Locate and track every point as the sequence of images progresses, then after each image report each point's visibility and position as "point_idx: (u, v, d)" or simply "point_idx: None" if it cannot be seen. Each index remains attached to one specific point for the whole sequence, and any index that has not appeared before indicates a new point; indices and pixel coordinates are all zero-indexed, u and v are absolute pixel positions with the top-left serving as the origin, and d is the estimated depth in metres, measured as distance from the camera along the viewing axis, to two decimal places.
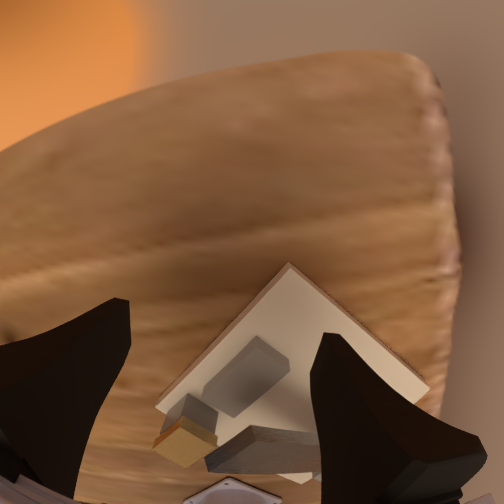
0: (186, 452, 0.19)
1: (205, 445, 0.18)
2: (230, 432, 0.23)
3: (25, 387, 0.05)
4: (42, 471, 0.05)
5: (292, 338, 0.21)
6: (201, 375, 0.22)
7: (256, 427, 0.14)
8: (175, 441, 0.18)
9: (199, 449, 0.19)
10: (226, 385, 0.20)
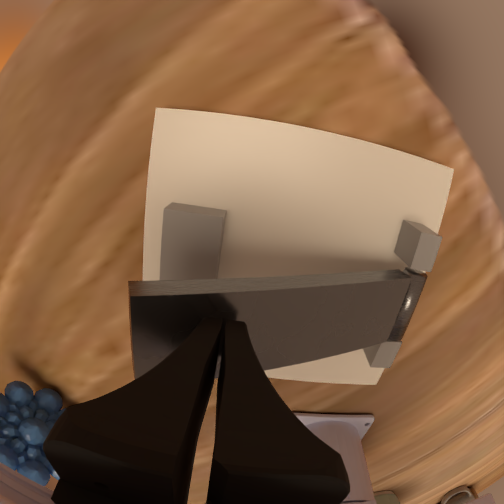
0: None
1: None
2: None
3: (184, 438, 0.05)
4: None
5: (212, 181, 0.16)
6: None
7: (139, 282, 0.10)
8: None
9: None
10: (169, 279, 0.16)
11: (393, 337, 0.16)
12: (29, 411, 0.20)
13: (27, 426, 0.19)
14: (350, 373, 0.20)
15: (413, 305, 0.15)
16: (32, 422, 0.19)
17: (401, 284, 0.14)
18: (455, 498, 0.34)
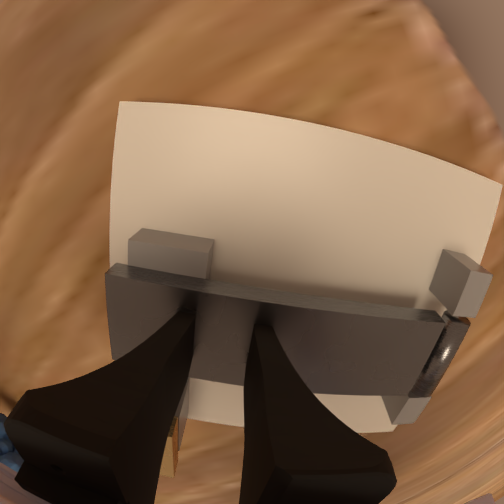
0: None
1: None
2: (230, 400, 0.15)
3: (133, 426, 0.05)
4: None
5: (193, 200, 0.12)
6: None
7: (123, 265, 0.11)
8: None
9: None
10: None
11: (417, 392, 0.12)
12: (7, 446, 0.16)
13: (5, 463, 0.14)
14: (365, 422, 0.16)
15: (446, 359, 0.11)
16: (11, 459, 0.15)
17: (428, 329, 0.11)
18: None
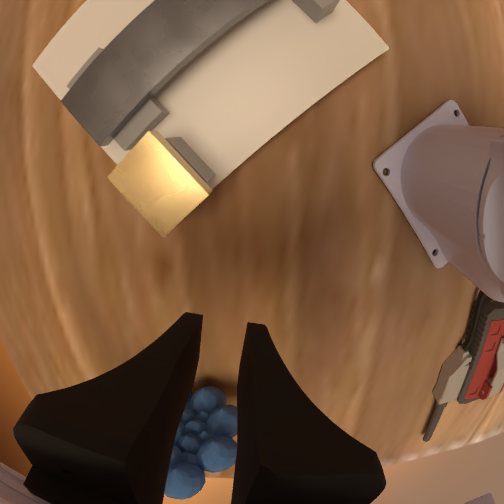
0: (160, 179, 0.13)
1: (142, 146, 0.13)
2: (224, 126, 0.17)
3: (146, 430, 0.05)
4: None
5: (88, 51, 0.15)
6: (119, 150, 0.17)
7: None
8: (137, 191, 0.14)
9: (152, 157, 0.13)
10: None
11: None
12: None
13: None
14: (348, 55, 0.15)
15: None
16: None
17: None
18: None
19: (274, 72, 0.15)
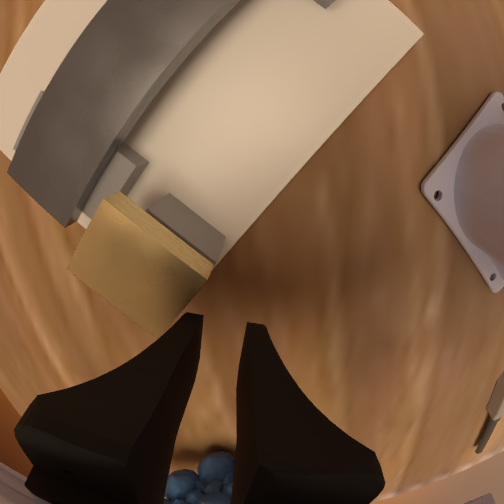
0: (135, 266, 0.09)
1: (101, 221, 0.09)
2: (227, 170, 0.12)
3: (147, 430, 0.05)
4: None
5: (34, 97, 0.11)
6: None
7: None
8: (108, 284, 0.10)
9: (116, 236, 0.09)
10: None
11: None
12: (194, 493, 0.17)
13: None
14: (376, 47, 0.10)
15: None
16: (198, 502, 0.15)
17: None
18: None
19: (282, 84, 0.11)
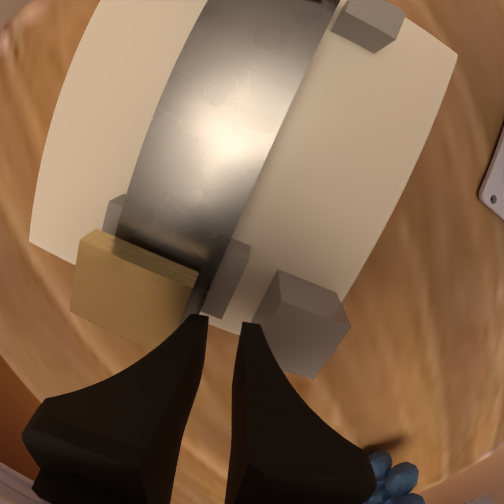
0: (125, 293, 0.10)
1: (84, 261, 0.09)
2: (327, 235, 0.13)
3: (158, 432, 0.05)
4: None
5: (93, 202, 0.13)
6: None
7: None
8: (108, 316, 0.10)
9: (101, 270, 0.09)
10: None
11: (334, 0, 0.08)
12: None
13: None
14: (426, 83, 0.11)
15: None
16: None
17: None
18: None
19: (358, 142, 0.12)
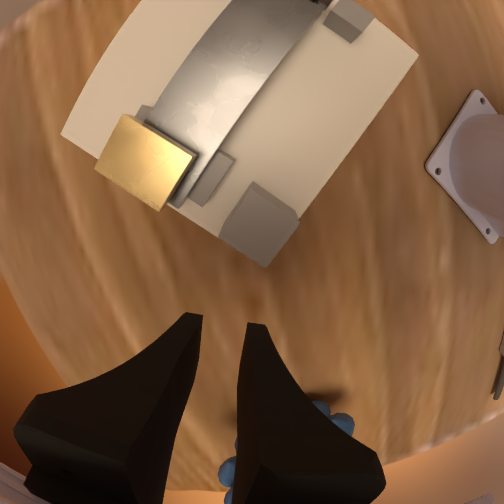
0: (143, 155, 0.13)
1: (120, 129, 0.13)
2: (293, 162, 0.17)
3: (146, 430, 0.05)
4: None
5: (124, 109, 0.16)
6: (191, 205, 0.18)
7: None
8: (124, 173, 0.14)
9: (131, 136, 0.13)
10: None
11: (325, 1, 0.12)
12: None
13: None
14: (387, 70, 0.15)
15: None
16: None
17: None
18: None
19: (327, 100, 0.16)
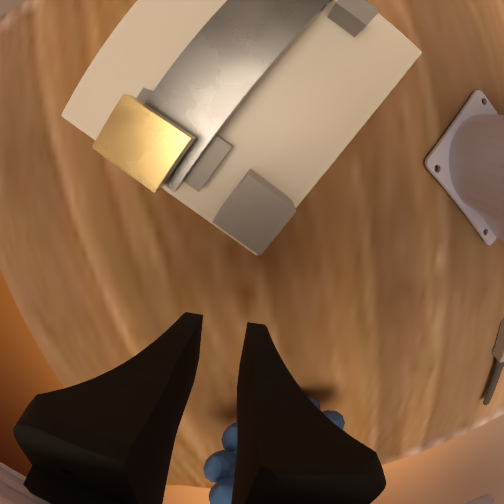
0: (142, 135, 0.13)
1: (120, 108, 0.12)
2: (292, 151, 0.17)
3: (146, 430, 0.05)
4: None
5: (126, 93, 0.16)
6: (187, 190, 0.18)
7: None
8: (121, 153, 0.13)
9: (130, 116, 0.13)
10: None
11: None
12: None
13: None
14: (389, 65, 0.15)
15: None
16: None
17: None
18: None
19: (328, 92, 0.16)
